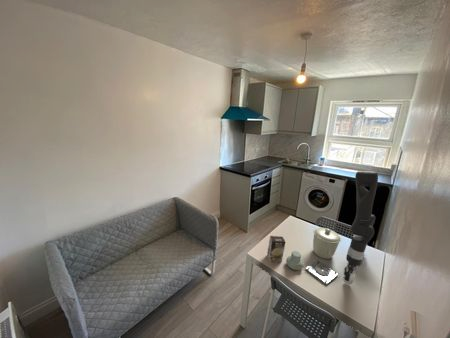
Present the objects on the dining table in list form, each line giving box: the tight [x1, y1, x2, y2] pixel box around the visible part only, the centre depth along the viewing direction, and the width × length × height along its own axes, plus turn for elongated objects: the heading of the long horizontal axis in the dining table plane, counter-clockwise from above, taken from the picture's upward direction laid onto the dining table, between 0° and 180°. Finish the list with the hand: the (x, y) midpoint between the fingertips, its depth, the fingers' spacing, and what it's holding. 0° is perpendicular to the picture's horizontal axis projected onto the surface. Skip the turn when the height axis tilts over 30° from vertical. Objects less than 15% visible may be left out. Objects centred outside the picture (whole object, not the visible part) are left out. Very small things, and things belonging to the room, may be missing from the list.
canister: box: [312, 227, 342, 260], centre depth 140 cm, size 18×18×21 cm
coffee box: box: [266, 235, 286, 263], centre depth 132 cm, size 9×6×16 cm
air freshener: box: [285, 250, 304, 271], centre depth 127 cm, size 11×8×10 cm
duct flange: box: [305, 260, 339, 286], centre depth 124 cm, size 14×14×2 cm
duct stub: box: [342, 264, 358, 285], centre depth 115 cm, size 6×6×9 cm
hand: (348, 278), depth 116 cm, fingers closed on duct stub, 5 cm apart
